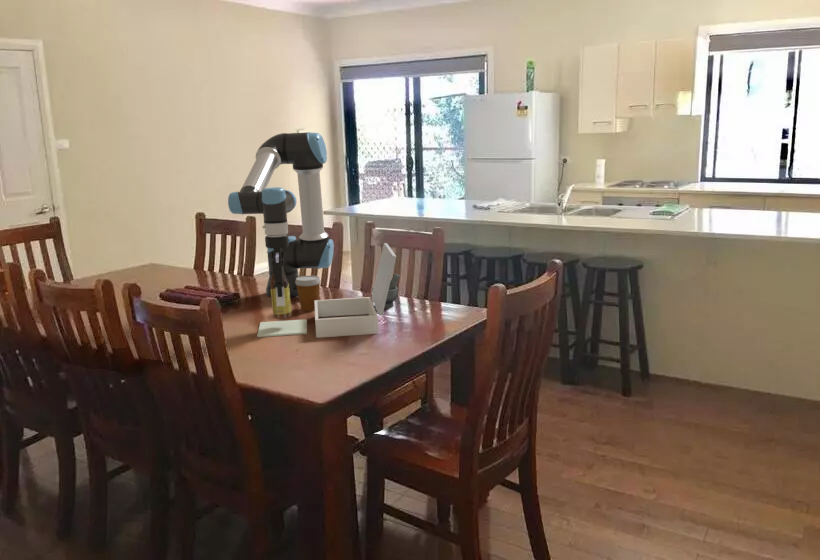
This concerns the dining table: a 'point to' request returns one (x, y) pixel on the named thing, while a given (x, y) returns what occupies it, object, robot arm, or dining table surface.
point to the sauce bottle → (284, 311)
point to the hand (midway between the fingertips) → (281, 303)
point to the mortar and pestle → (392, 291)
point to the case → (345, 324)
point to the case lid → (383, 278)
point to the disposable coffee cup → (308, 291)
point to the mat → (282, 328)
